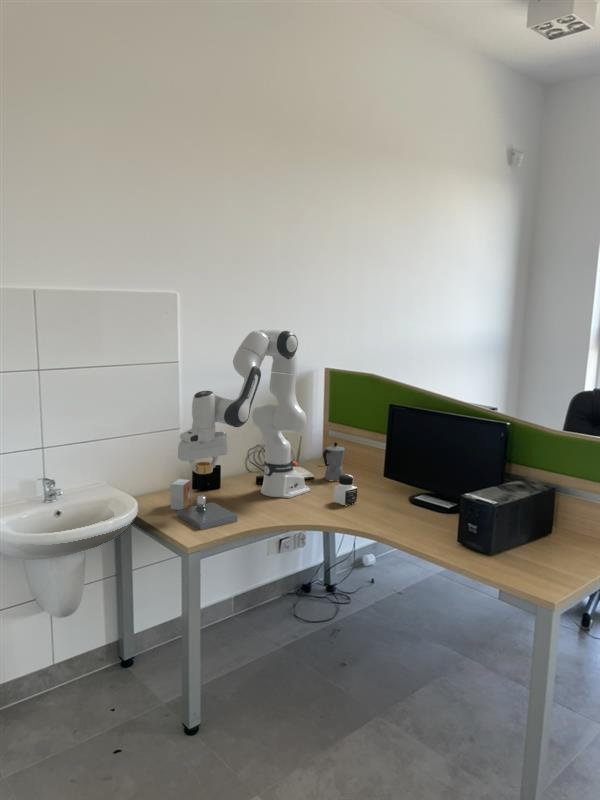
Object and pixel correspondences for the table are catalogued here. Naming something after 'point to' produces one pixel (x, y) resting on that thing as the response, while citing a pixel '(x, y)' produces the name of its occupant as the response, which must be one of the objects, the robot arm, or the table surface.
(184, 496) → the small box
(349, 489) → the medicine bottle
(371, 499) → the table surface
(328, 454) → the coffeepot
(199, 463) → the ring
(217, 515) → the block
